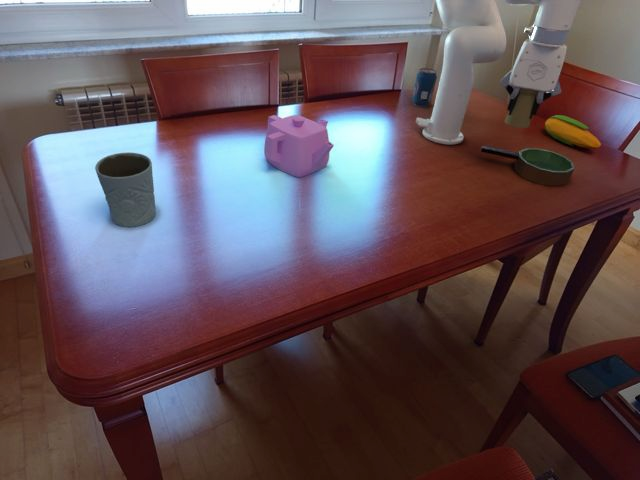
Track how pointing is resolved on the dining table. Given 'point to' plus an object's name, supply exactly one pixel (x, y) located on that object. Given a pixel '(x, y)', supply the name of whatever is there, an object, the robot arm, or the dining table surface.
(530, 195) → the dining table surface
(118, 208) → the gray embossed cup
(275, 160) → the teakettle
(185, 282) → the dining table surface
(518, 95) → the cork
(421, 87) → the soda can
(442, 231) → the dining table surface
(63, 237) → the dining table surface
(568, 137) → the corn
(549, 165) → the pan
